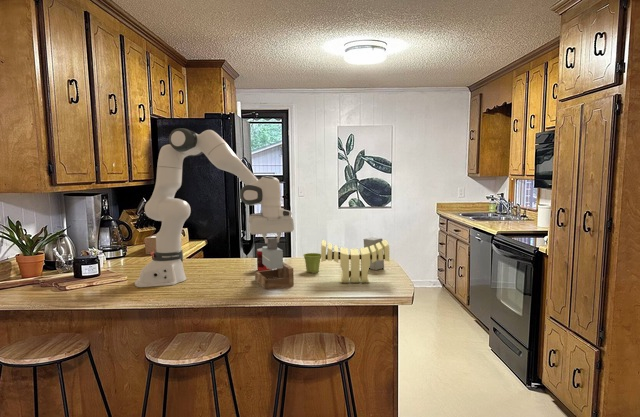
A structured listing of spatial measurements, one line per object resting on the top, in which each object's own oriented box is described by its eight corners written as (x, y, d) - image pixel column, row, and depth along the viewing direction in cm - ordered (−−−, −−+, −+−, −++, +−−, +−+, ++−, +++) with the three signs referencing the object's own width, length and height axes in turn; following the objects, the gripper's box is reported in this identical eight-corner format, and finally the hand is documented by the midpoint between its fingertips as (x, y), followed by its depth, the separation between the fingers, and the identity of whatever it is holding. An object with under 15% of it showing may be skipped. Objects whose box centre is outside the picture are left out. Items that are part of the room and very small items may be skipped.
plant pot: (315, 268, 213) (315, 252, 212) (325, 272, 205) (325, 255, 204) (300, 271, 208) (299, 254, 207) (309, 274, 200) (309, 257, 199)
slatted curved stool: (321, 284, 181) (321, 245, 180) (323, 275, 197) (322, 239, 196) (389, 284, 180) (389, 244, 178) (385, 275, 196) (385, 239, 194)
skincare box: (384, 268, 210) (384, 238, 208) (374, 270, 206) (374, 239, 204) (373, 265, 217) (373, 236, 215) (363, 267, 213) (363, 237, 211)
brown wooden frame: (255, 279, 191) (254, 263, 190) (280, 276, 196) (280, 260, 195) (266, 289, 175) (265, 271, 174) (293, 285, 180) (293, 268, 179)
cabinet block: (269, 269, 178) (269, 241, 177) (262, 263, 189) (261, 237, 188) (283, 268, 181) (282, 240, 179) (274, 262, 192) (274, 236, 190)
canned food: (273, 268, 214) (273, 247, 213) (270, 272, 206) (269, 250, 205) (259, 268, 215) (259, 247, 214) (255, 272, 207) (255, 250, 206)
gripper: (250, 214, 176) (251, 245, 177) (294, 211, 184) (295, 242, 185) (246, 213, 181) (247, 243, 183) (290, 210, 190) (290, 240, 191)
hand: (272, 242), depth 184 cm, fingers closed on cabinet block, 3 cm apart
